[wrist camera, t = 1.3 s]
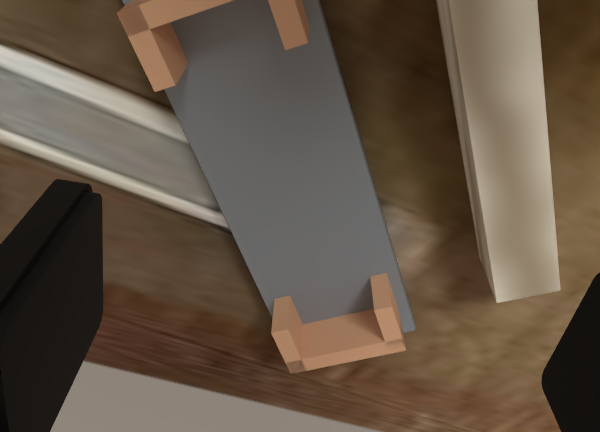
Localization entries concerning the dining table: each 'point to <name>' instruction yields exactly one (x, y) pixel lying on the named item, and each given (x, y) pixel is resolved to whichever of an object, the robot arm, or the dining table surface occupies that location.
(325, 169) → the board
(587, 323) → the robot arm
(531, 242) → the slat
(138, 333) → the dining table surface
